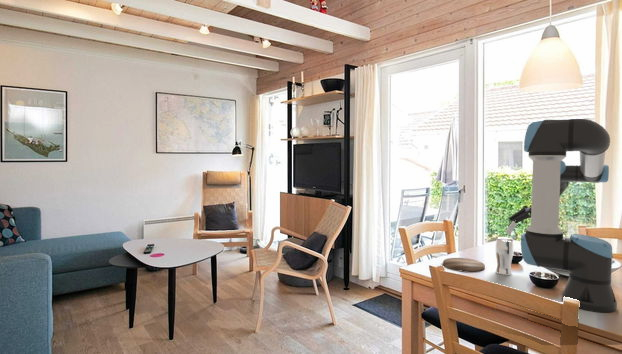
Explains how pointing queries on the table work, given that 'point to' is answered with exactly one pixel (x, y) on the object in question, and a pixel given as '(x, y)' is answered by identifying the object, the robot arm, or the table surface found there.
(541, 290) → the table surface
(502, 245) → the beer glass
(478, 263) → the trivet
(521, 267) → the table surface
